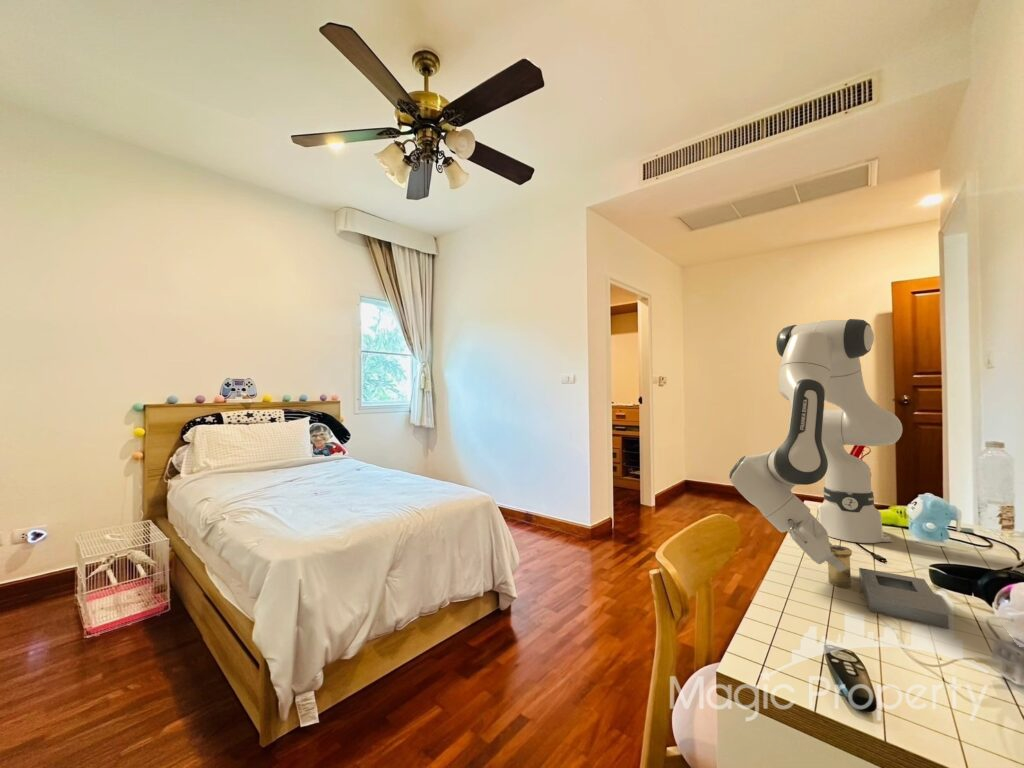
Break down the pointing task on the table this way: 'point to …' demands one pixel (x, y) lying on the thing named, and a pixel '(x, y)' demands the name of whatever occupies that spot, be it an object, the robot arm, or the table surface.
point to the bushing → (836, 576)
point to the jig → (902, 597)
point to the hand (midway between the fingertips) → (842, 565)
